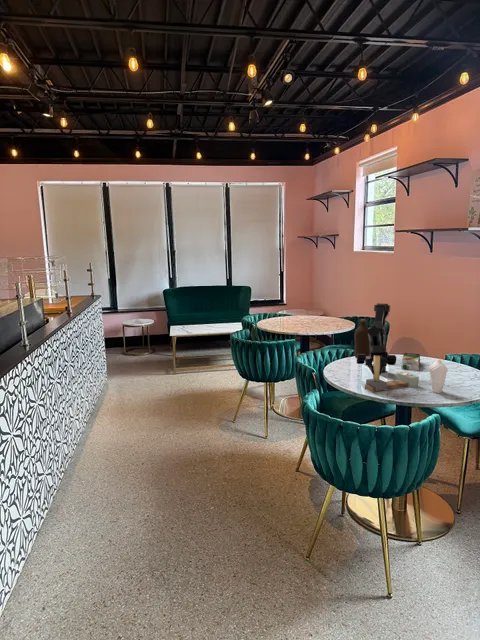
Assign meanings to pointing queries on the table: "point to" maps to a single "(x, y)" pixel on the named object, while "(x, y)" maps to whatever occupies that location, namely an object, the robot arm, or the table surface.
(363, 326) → the olive oil
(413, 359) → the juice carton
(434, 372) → the soft serve ice cream cone
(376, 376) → the grey block with handle
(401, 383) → the rail
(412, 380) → the gauge cabinet
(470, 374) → the table surface
